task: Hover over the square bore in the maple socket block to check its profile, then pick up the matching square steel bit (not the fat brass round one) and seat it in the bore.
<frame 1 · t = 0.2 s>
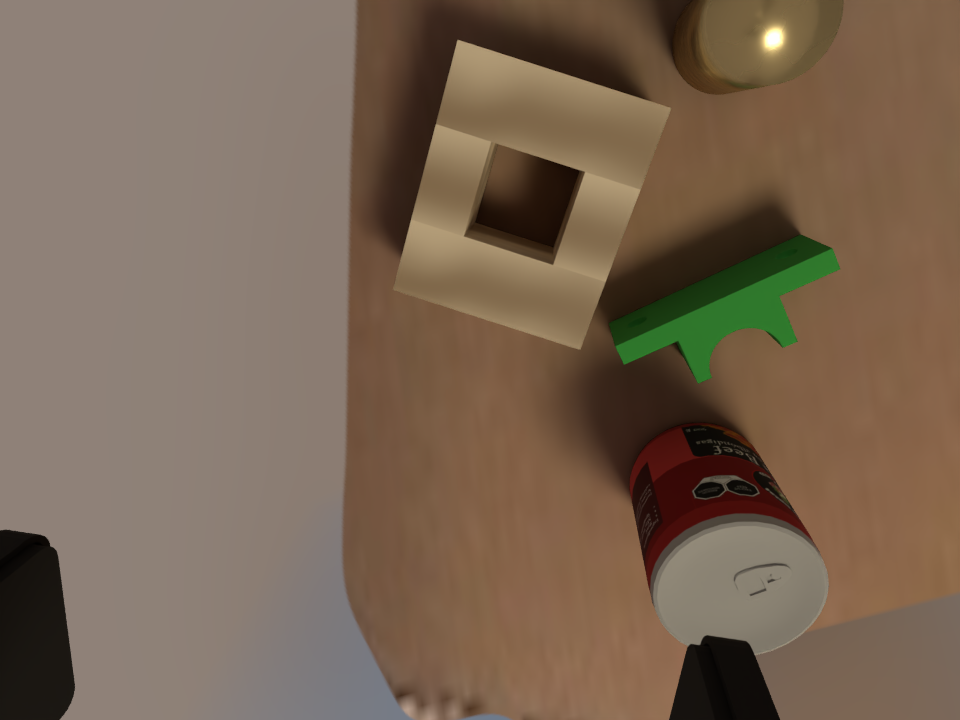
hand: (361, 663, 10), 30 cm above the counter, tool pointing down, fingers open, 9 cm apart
canned food: (692, 473, 41), on the counter
socket block: (527, 194, 36), on the counter
round bit: (724, 40, 33), on the counter
pipe clamp: (710, 306, 38), on the counter
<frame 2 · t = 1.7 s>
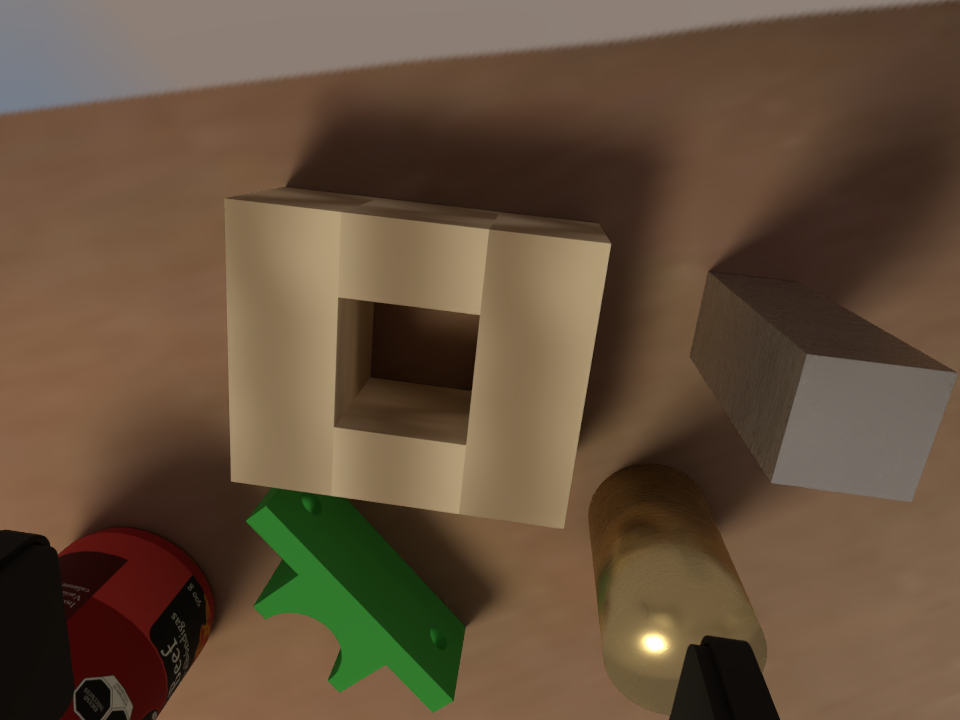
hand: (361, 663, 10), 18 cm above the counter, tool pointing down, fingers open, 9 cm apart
canned food: (145, 588, 32), on the counter
socket block: (429, 331, 27), on the counter
round bit: (647, 516, 28), on the counter
square bit: (743, 320, 25), on the counter
pipe clamp: (361, 556, 31), on the counter
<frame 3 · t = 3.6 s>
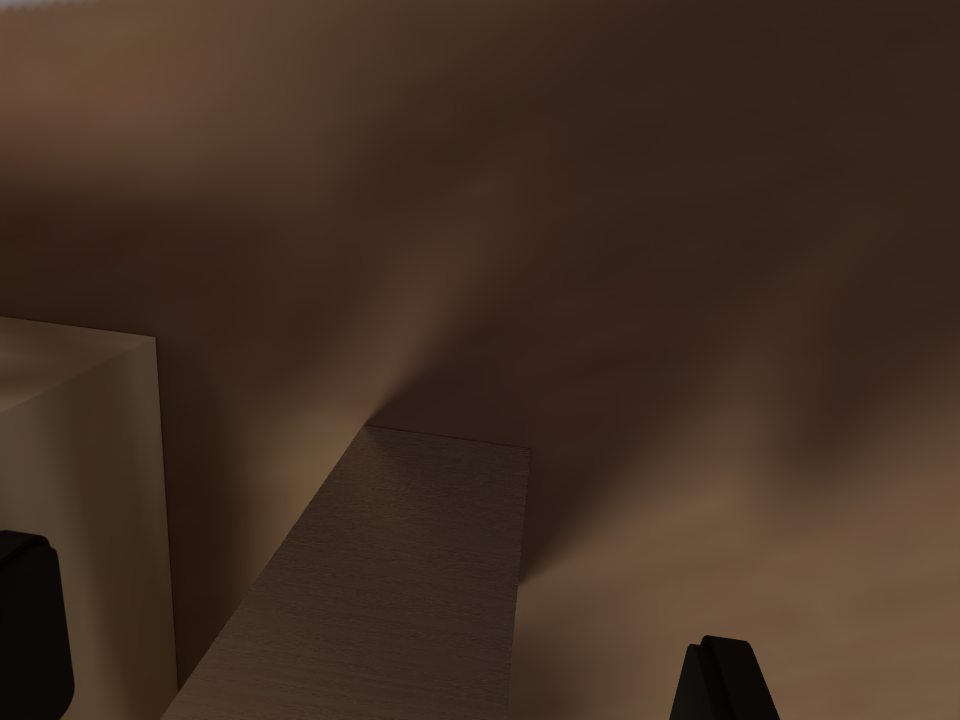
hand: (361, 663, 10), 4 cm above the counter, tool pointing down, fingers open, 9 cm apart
square bit: (439, 510, 14), on the counter
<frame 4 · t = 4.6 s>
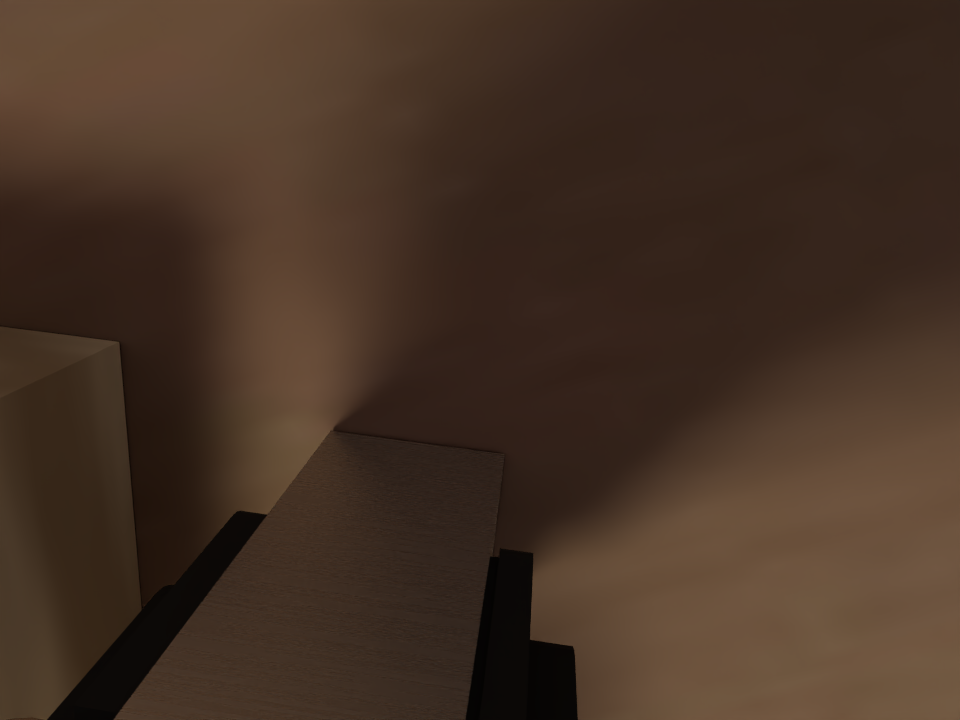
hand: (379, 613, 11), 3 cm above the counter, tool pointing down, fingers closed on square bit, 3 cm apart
square bit: (411, 518, 13), on the counter, touching gripper
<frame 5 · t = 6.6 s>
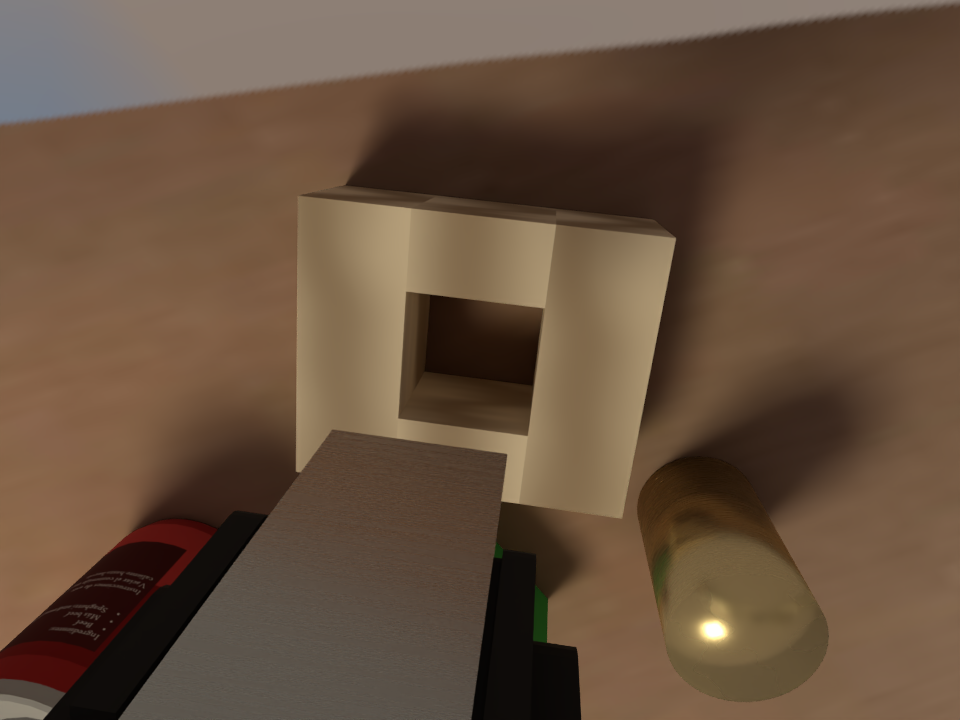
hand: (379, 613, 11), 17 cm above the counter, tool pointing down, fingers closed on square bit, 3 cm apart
canned food: (198, 579, 33), on the counter
socket block: (483, 326, 27), on the counter
round bit: (695, 508, 29), on the counter
square bit: (413, 517, 13), point 15 cm above the counter, touching gripper
pipe clamp: (443, 528, 31), on the counter
when the fingers open (6 cm above the counter, at t = 8.9 s): square bit drops 3 cm, resting in socket block.
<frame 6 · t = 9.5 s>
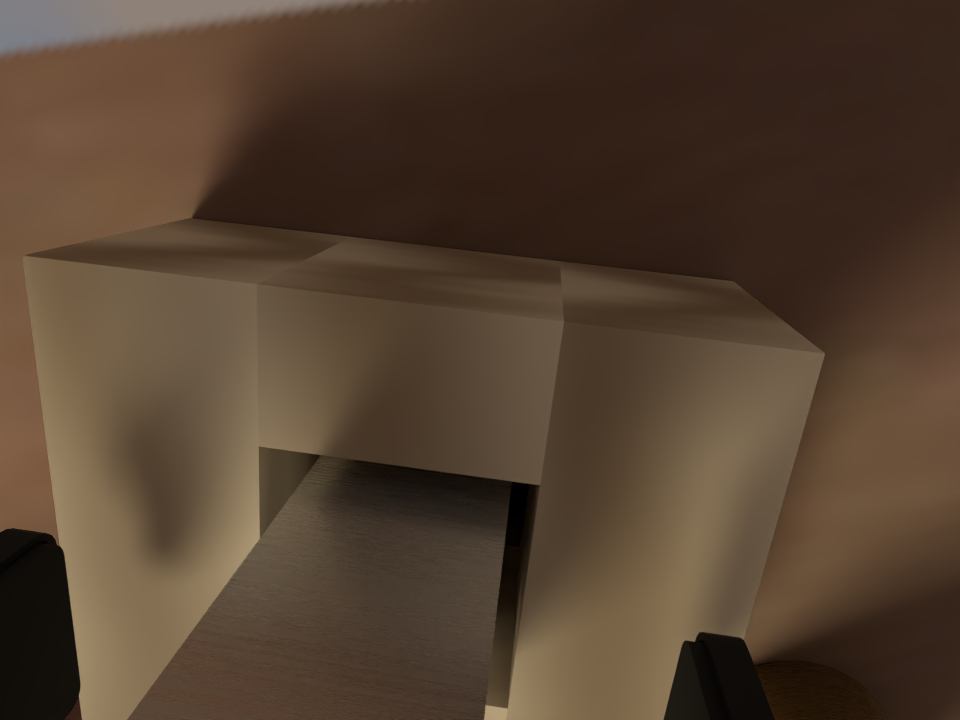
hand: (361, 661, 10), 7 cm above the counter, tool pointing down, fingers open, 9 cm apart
socket block: (437, 453, 16), on the counter
square bit: (442, 451, 16), resting in socket block
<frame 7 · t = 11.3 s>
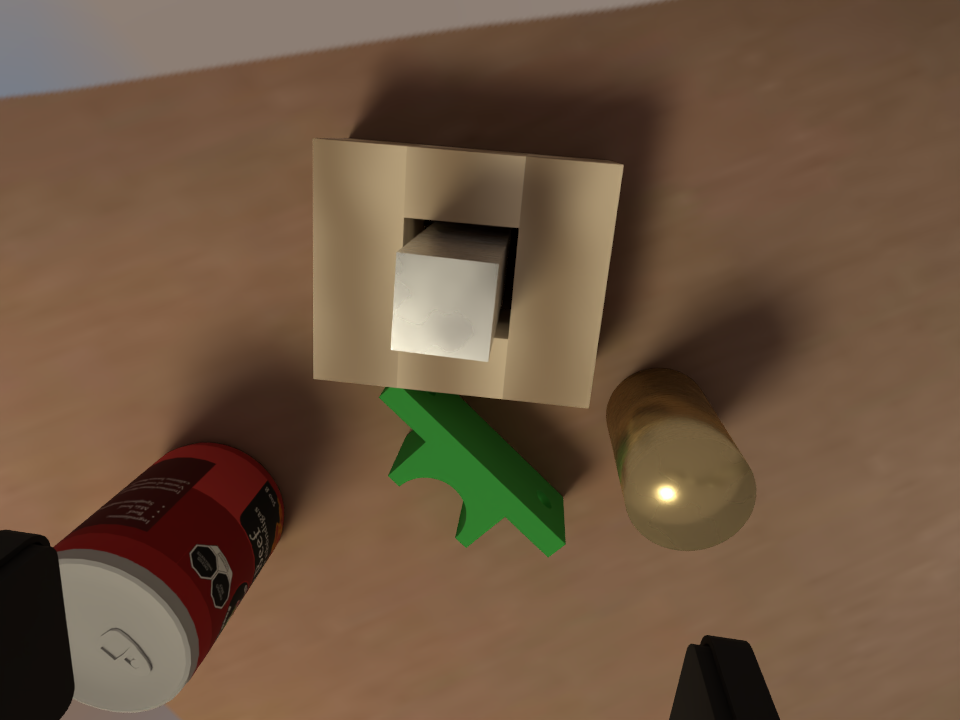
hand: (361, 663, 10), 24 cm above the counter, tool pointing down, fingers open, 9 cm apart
canned food: (223, 498, 38), on the counter
socket block: (469, 258, 32), on the counter
round bit: (656, 414, 33), on the counter
square bit: (472, 257, 32), resting in socket block
pipe clamp: (466, 442, 35), on the counter
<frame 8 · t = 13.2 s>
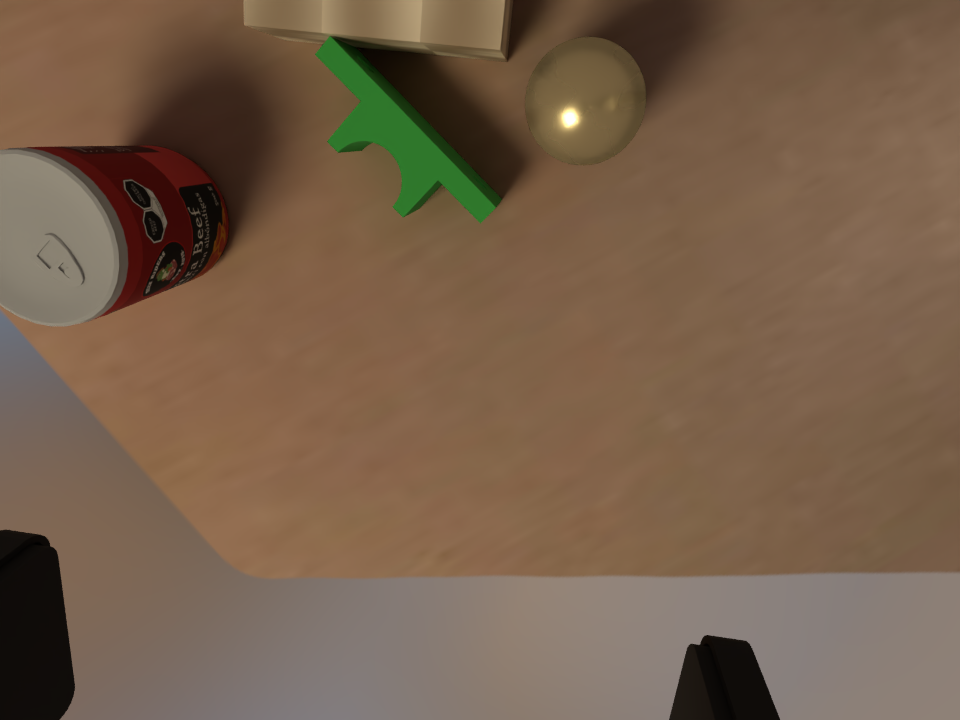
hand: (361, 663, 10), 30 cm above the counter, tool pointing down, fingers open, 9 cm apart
canned food: (171, 213, 39), on the counter
round bit: (577, 110, 35), on the counter
pipe clamp: (409, 147, 37), on the counter
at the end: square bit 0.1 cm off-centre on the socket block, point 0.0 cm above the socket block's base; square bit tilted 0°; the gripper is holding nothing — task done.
